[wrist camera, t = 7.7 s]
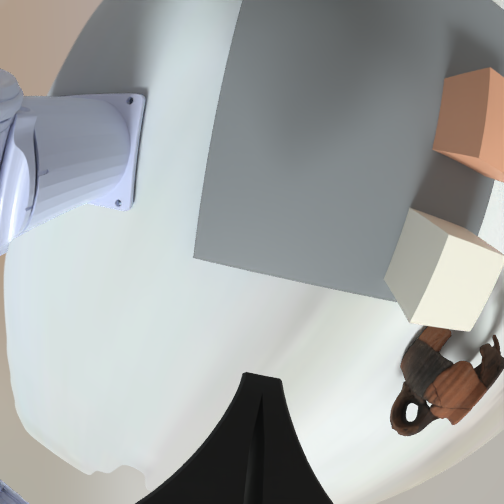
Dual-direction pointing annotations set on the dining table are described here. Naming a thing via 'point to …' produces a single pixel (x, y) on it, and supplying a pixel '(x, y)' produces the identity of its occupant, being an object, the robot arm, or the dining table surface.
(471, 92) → the terracotta cube
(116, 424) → the dining table surface
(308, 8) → the board
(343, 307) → the dining table surface
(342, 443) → the dining table surface
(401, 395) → the dark brown arched piece
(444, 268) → the cream cube
